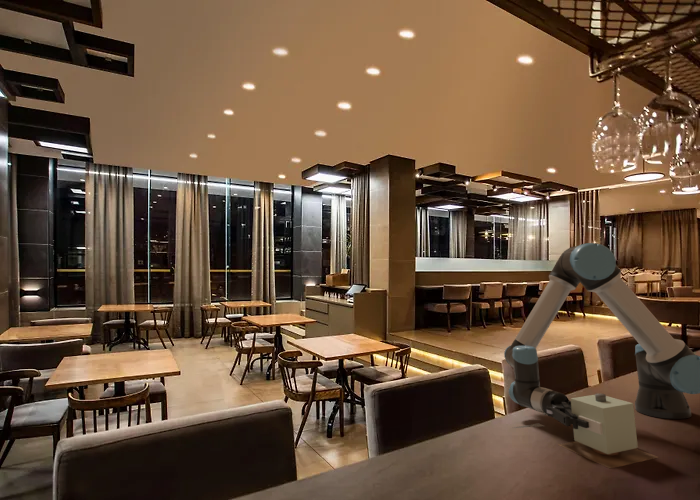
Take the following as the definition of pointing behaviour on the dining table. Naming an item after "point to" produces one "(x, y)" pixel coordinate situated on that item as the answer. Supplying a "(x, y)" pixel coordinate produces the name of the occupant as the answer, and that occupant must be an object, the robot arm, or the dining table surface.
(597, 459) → the board
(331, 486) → the dining table surface
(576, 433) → the knobbed cream cube
